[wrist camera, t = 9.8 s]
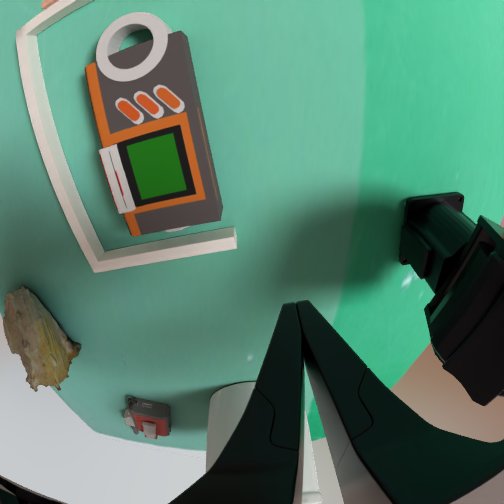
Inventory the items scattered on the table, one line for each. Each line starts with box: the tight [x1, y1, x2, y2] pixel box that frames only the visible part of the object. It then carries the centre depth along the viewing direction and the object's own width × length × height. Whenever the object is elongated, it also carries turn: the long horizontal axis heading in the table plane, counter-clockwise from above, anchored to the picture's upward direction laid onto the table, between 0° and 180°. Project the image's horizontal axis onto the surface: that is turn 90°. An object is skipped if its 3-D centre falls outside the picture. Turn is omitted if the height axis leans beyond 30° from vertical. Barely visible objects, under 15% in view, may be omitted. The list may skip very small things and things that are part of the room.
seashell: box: [3, 286, 81, 392], centre depth 24 cm, size 11×14×10 cm
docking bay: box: [16, 0, 237, 273], centre depth 15 cm, size 12×23×2 cm, turn 10°
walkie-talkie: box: [124, 398, 171, 439], centre depth 41 cm, size 9×4×20 cm
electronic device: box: [85, 12, 223, 236], centre depth 15 cm, size 7×3×15 cm
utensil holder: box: [206, 382, 323, 504], centre depth 30 cm, size 15×15×18 cm
